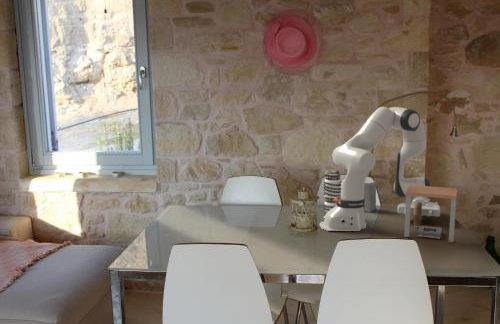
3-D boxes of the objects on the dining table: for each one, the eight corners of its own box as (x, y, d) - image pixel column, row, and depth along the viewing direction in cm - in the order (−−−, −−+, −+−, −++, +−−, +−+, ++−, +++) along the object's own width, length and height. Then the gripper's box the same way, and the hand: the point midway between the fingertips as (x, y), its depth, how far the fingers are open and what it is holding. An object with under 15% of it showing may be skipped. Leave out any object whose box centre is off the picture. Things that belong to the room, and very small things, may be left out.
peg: (415, 228, 258) (416, 203, 256) (412, 225, 261) (413, 202, 259) (422, 227, 258) (423, 203, 256) (418, 225, 262) (420, 201, 259)
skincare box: (370, 212, 285) (370, 183, 282) (357, 210, 289) (358, 182, 286) (376, 209, 291) (377, 180, 288) (364, 207, 295) (365, 179, 293)
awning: (407, 228, 257) (409, 184, 253) (454, 233, 249) (457, 188, 245) (404, 238, 243) (406, 192, 239) (453, 243, 235) (456, 195, 231)
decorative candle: (342, 220, 272) (343, 172, 267) (324, 220, 272) (324, 172, 267) (339, 215, 280) (340, 168, 276) (322, 215, 281) (322, 168, 276)
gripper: (398, 199, 274) (395, 205, 262) (441, 202, 267) (439, 209, 254) (398, 211, 275) (395, 218, 263) (440, 214, 268) (439, 222, 255)
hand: (417, 213), depth 258 cm, fingers open, 8 cm apart
